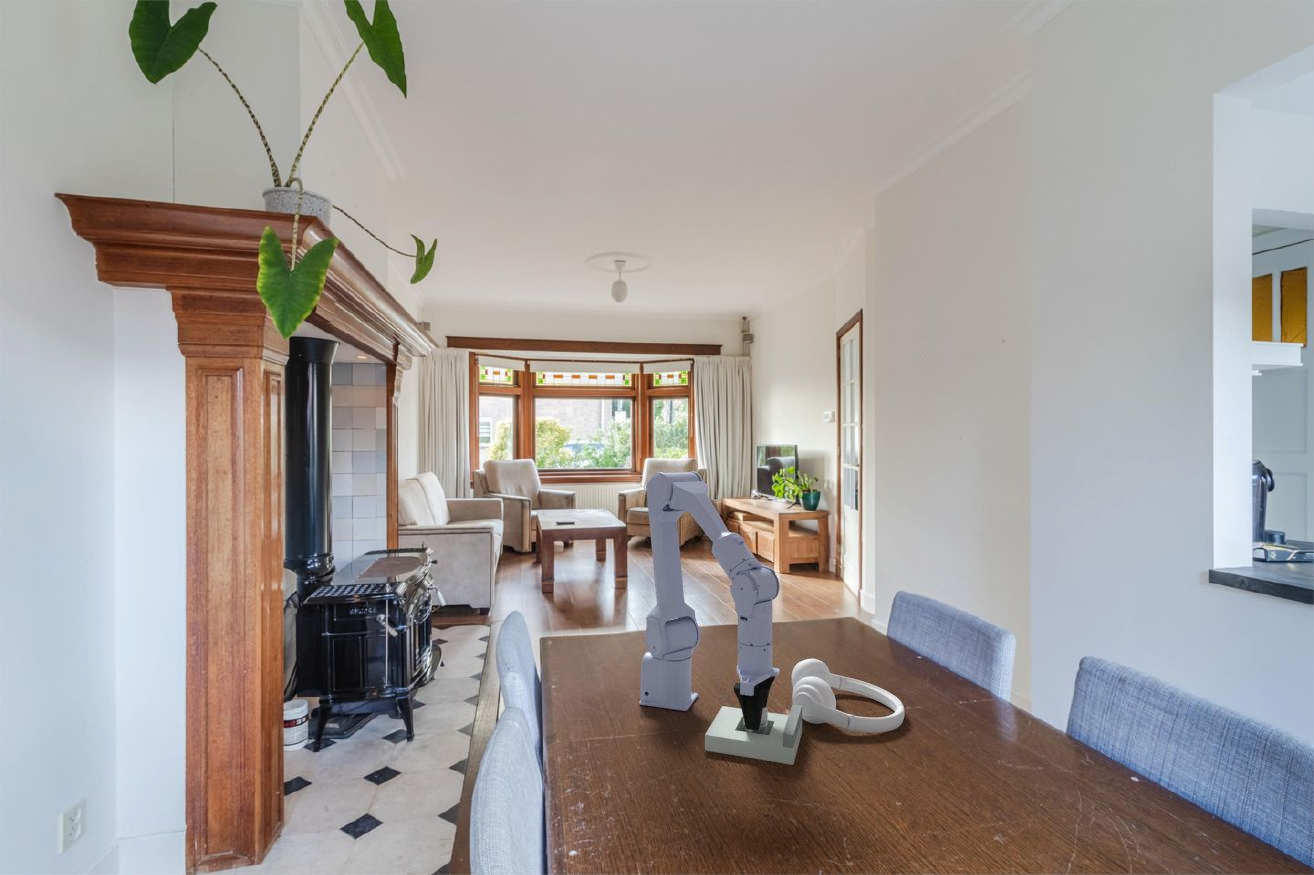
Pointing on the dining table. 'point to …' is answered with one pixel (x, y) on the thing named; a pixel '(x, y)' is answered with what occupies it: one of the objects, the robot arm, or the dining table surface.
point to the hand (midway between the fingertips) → (755, 723)
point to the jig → (756, 736)
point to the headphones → (821, 704)
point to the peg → (763, 726)
